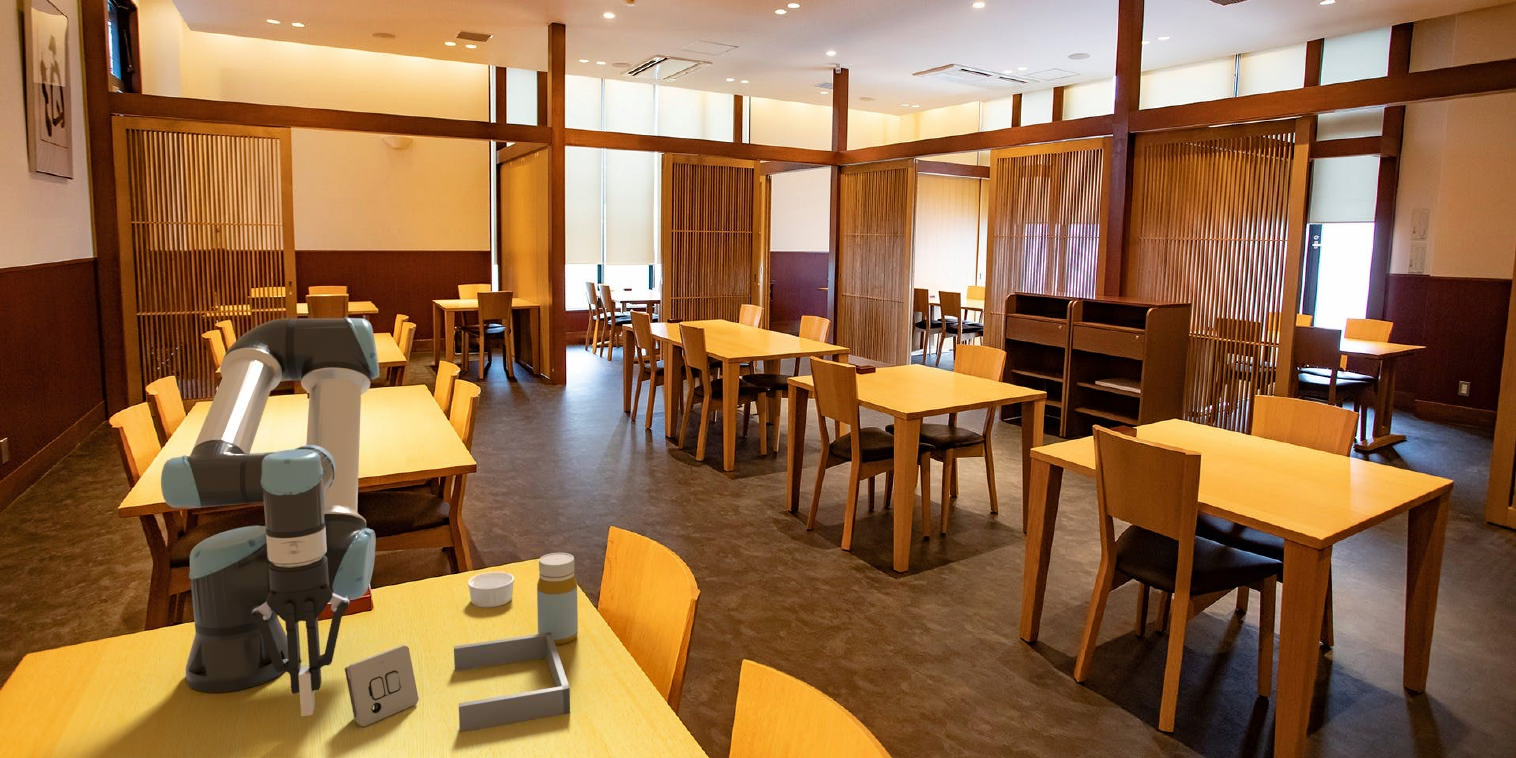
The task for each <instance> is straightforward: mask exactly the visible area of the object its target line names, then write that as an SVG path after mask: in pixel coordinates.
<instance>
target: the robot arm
mask: <svg viewBox="0 0 1516 758" xmlns="http://www.w3.org/2000/svg"><path fill="white" fill-rule="evenodd" d="M375 340H376V339H375V335H374V329H373V326H372V324H371V323H370V321H369V320H367V319H365V318H360V317H359V318H358V317H357V318H355V317H354V318H353V317H347V316H344V317H343V318H342V317H341V318H339V317H337V318H335V317H334V318H333V317H331V318H327V317H325V318H323V317H322V318H318V317H317V318H314V317H313V318H309V317H308V318H301V317H300V318H299V317H298V318H287V317H284V318H283V317H282V318H277V319H273V320H269V321H267V322H264V323H261V324H259V325H258V326H255V327H254V328H251V329H250V330H248V331H247V332H245V333H244V334H243V335H241V336H240V337H239V338H238V339H237V340H236V341H235V342H234V343H232V345H231V346H229V348H228V349H227V351H226V352H225V354H224V356H223V359H222V361H221V363H220V367H219V368H220V371H219V372H220V375H221V377H222V379H221V381H220V383H219V385H218V388H217V390H216V393H215V395H214V398H213V400H212V403H211V404H210V407H209V409H208V411H207V415H206V416H205V418H204V421H203V424H202V427H201V429H200V431H199V434H198V435H197V438H196V441H195V443H194V446H193V448H192V451H191V453H190V455H189V456H187V455H186V454H185V455H181V456H177V457H171V458H170V459H168V460H166V461H165V463H164V464H163V466H162V469H161V474H160V487H161V489H160V490H161V494H162V496H163V500H164V502H165V503H166V505H168V506H169V507H171V508H175V509H178V508H179V509H180V508H197V509H201V508H208V507H220V506H221V507H222V506H223V507H224V506H233V505H244V504H263V508H264V510H263V511H264V520H265V521H264V522H265V525H263V526H262V525H250V526H243V527H238V528H233V529H230V530H226V531H223V532H219V533H217V534H214V535H212V536H210V537H207V538H205V539H203V540H202V541H200V542H199V543H197V544H196V545H195V546H194V547H193V548H192V550H191V551H190V554H189V573H188V578H189V579H190V580H189V581H190V587H191V588H190V589H191V598H192V608H193V609H192V610H193V618H194V619H193V620H194V628H195V629H194V630H195V631H194V632H195V634H194V638H193V641H192V645H191V648H190V651H189V655H188V659H187V662H186V666H185V677H186V678H185V679H186V684H187V686H188V687H189V688H191V687H192V688H191V689H193V690H195V691H198V692H202V691H205V692H204V693H226V692H227V693H228V692H233V691H234V692H235V691H239V690H244V689H248V688H252V687H255V686H258V685H261V684H264V683H266V682H267V683H268V681H271V680H273V679H275V678H277V677H279V676H280V675H282V674H284V673H285V672H286V673H288V674H289V677H290V691H291V693H292V694H299V702H300V713H301V714H300V716H301V717H305V716H306V717H307V716H312V715H314V711H315V706H316V702H315V691H319V690H320V688H321V686H322V668H323V667H325V666H330V665H332V662H333V659H334V654H335V650H336V646H337V645H336V644H337V641H338V636H339V631H340V628H341V627H340V626H341V623H342V621H341V620H342V618H343V616H344V615H345V613H346V611H347V610H348V608H349V605H350V601H351V600H357V599H360V598H361V597H363V596H364V595H365V594H366V592H367V591H368V589H369V586H370V583H371V581H372V576H373V571H374V567H375V566H374V565H375V558H376V544H377V542H376V533H375V531H374V530H373V529H370V528H369V527H367V521H366V519H365V518H364V517H363V516H362V515H360V514H359V512H358V502H359V501H358V497H359V496H358V495H359V493H358V492H359V467H360V465H359V464H360V463H359V461H360V437H361V436H360V435H361V407H362V406H361V404H362V401H361V400H362V395H363V394H365V393H366V392H368V391H369V389H370V387H371V380H375V379H378V378H379V377H380V367H379V366H380V365H379V359H378V353H377V348H376V347H377V346H376V341H375ZM285 381H300V384H301V387H302V389H303V390H305V391H306V392H307V393H308V394H309V398H308V399H309V400H308V413H307V430H306V441H305V442H306V445H301V446H299V447H296V448H294V449H285V450H284V449H283V450H279V451H271V452H255V453H251V451H252V448H253V445H254V440H256V439H255V437H256V436H257V433H258V430H259V426H260V423H261V421H262V417H263V415H264V411H265V408H266V406H267V402H268V399H269V397H270V394H271V391H273V390H274V389H276V388H277V387H278V386H279V384H280V382H285ZM329 603H330V604H331V607H330V610H331V611H332V612H333V614H332V619H331V621H330V622H331V623H330V628H329V632H328V636H327V641H326V646H325V650H324V653H322V654H321V647H320V632H319V617H320V616H321V614H322V612H323V611H324V610H325V608H326V607H327V605H328V604H329ZM279 618H280V619H281V620H282V621H283V622H285V629H284V627H283V625H282V623H281V621H280V619H279ZM299 622H305V629H306V640H307V651H308V653H307V654H308V664H307V665H301V664H302V661H303V660H302V659H301V658H302V656H301V643H300V627H299Z"/></svg>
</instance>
